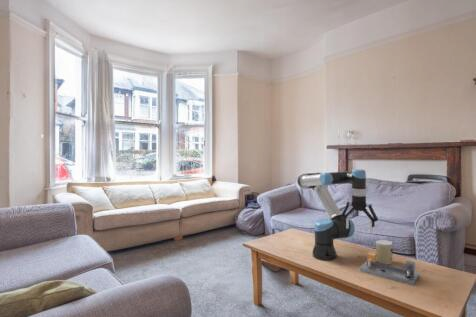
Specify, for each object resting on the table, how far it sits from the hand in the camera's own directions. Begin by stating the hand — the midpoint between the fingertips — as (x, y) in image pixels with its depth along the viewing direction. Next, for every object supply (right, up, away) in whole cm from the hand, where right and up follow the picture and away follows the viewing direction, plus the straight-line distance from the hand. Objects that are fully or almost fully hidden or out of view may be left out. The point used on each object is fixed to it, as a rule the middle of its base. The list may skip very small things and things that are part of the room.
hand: (359, 230), depth 160 cm
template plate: (+10, -21, -13) cm, 26 cm away
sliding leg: (+4, -18, -7) cm, 20 cm away
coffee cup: (+16, -20, +2) cm, 26 cm away
